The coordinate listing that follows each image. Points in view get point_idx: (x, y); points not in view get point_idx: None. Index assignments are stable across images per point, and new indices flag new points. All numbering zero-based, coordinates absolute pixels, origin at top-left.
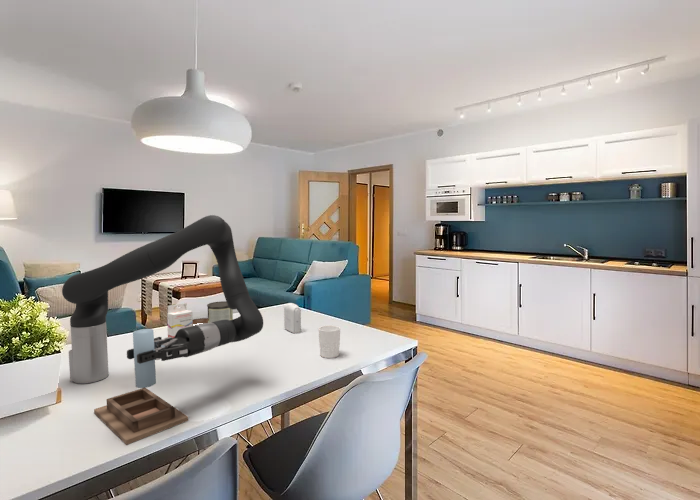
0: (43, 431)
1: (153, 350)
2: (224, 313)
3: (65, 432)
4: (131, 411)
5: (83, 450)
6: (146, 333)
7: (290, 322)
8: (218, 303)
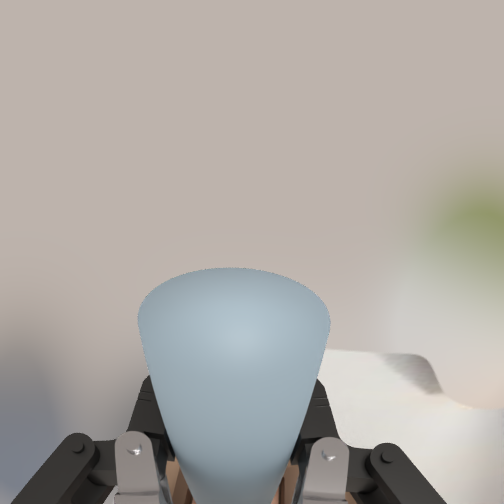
0: (360, 384)
1: (145, 429)
2: None
3: (330, 405)
4: (282, 496)
5: None
6: (147, 299)
7: None
8: None
